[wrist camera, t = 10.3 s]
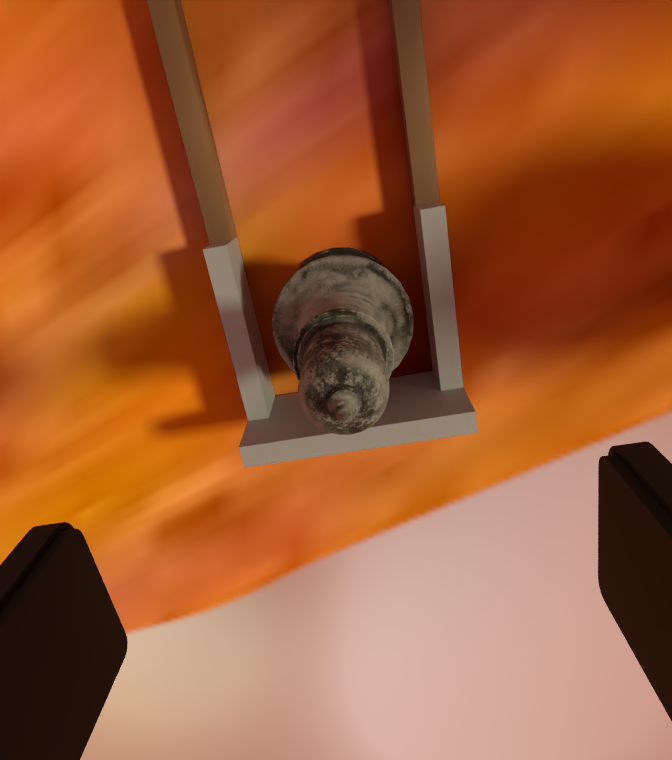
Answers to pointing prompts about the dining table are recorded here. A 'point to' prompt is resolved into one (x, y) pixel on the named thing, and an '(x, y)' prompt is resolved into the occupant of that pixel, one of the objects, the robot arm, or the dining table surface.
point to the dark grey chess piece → (343, 336)
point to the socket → (406, 393)
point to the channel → (198, 129)
